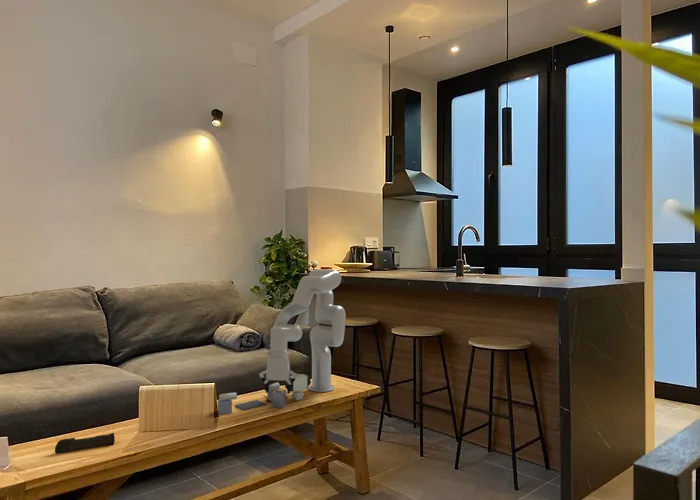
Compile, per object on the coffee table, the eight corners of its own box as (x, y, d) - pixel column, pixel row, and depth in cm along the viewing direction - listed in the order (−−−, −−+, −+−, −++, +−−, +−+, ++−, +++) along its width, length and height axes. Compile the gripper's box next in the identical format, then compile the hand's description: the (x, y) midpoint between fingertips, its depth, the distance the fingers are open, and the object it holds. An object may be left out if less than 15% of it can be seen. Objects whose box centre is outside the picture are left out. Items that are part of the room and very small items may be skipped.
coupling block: (274, 404, 239) (274, 388, 239) (285, 405, 239) (285, 388, 239) (272, 408, 234) (272, 391, 234) (283, 408, 234) (283, 391, 234)
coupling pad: (257, 401, 245) (257, 399, 245) (267, 405, 239) (267, 403, 239) (234, 406, 237) (234, 405, 237) (243, 410, 231) (243, 409, 231)
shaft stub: (234, 408, 234) (234, 391, 234) (237, 411, 229) (237, 393, 229) (217, 411, 230) (217, 393, 230) (220, 414, 226) (220, 396, 226)
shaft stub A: (274, 397, 250) (274, 381, 250) (282, 399, 247) (282, 382, 247) (263, 401, 244) (263, 385, 244) (271, 403, 241) (271, 386, 241)
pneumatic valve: (310, 398, 250) (310, 372, 249) (289, 402, 242) (289, 376, 242) (304, 395, 254) (304, 370, 254) (283, 399, 247) (283, 374, 247)
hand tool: (114, 442, 194) (114, 429, 194) (115, 445, 191) (114, 432, 191) (55, 451, 186) (55, 438, 186) (55, 455, 182) (54, 442, 182)
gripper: (257, 355, 233) (256, 394, 233) (296, 356, 232) (295, 395, 232) (261, 352, 241) (261, 389, 240) (299, 353, 239) (298, 391, 239)
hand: (278, 392), depth 236 cm, fingers open, 9 cm apart
